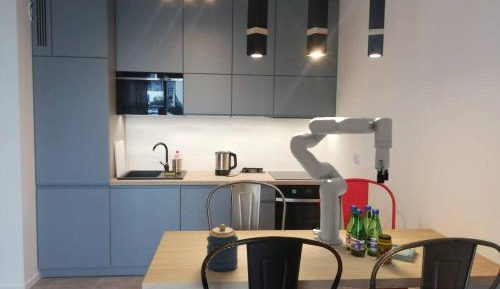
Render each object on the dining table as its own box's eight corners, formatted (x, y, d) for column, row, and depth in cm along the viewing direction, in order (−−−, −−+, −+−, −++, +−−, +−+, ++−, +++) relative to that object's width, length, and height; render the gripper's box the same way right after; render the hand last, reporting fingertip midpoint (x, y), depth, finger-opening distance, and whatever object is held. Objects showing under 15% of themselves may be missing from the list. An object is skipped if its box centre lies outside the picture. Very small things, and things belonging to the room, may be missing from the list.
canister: (207, 273, 138) (208, 229, 137) (205, 260, 151) (205, 220, 150) (240, 271, 141) (240, 228, 139) (235, 258, 153) (235, 219, 152)
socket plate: (377, 254, 160) (377, 248, 160) (384, 246, 172) (384, 240, 171) (410, 261, 152) (410, 255, 152) (415, 252, 164) (415, 246, 164)
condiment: (382, 266, 147) (383, 238, 146) (369, 259, 155) (370, 232, 154) (396, 264, 149) (397, 237, 148) (383, 257, 157) (384, 231, 156)
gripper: (378, 143, 169) (378, 178, 170) (370, 145, 154) (370, 183, 155) (395, 144, 165) (394, 180, 166) (388, 145, 150) (387, 185, 151)
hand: (382, 181), depth 161 cm, fingers open, 9 cm apart
